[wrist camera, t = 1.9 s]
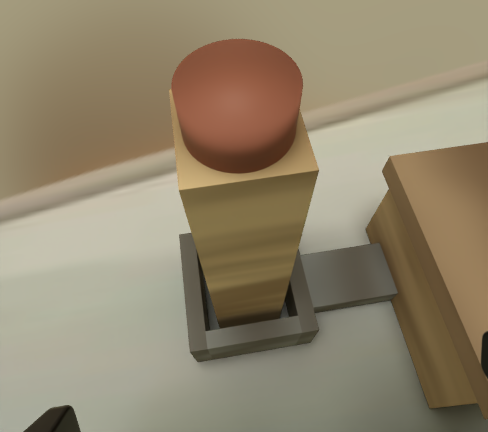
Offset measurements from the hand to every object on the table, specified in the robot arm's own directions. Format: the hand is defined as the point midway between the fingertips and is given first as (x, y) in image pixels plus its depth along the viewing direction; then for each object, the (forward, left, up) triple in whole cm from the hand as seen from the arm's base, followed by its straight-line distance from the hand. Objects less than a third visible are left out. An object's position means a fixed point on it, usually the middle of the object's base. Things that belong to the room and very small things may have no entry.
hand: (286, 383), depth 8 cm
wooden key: (+4, +4, -12) cm, 14 cm away
